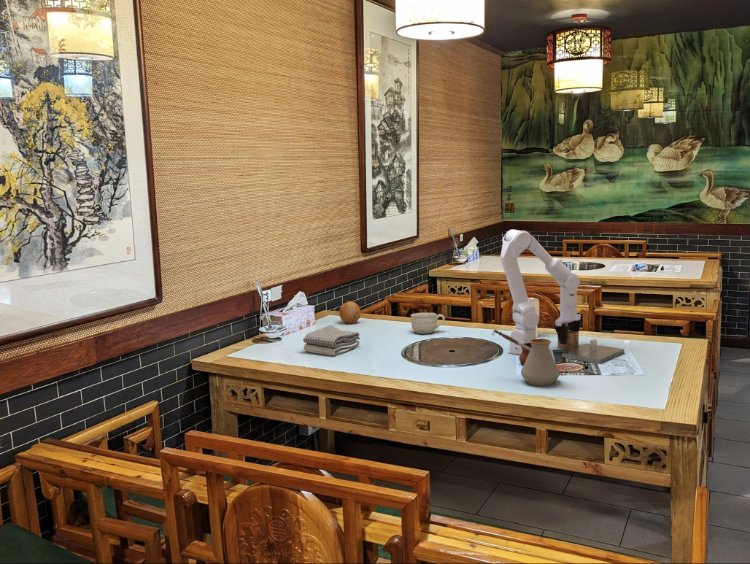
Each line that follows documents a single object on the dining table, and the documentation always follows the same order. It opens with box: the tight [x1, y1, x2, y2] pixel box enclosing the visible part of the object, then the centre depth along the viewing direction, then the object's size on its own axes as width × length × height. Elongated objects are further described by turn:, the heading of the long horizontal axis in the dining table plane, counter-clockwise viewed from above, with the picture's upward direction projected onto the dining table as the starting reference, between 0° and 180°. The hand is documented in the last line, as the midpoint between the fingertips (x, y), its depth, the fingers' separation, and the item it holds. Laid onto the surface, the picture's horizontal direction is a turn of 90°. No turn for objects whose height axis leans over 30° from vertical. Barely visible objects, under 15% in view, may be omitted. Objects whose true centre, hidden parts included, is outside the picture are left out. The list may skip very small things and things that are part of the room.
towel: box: [303, 325, 361, 357], centre depth 255 cm, size 15×18×8 cm
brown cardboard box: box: [557, 330, 580, 351], centre depth 245 cm, size 5×5×6 cm
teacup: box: [410, 312, 446, 335], centre depth 278 cm, size 14×11×8 cm
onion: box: [338, 300, 362, 324], centre depth 303 cm, size 10×10×10 cm
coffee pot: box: [491, 329, 560, 387], centre depth 207 cm, size 21×12×15 cm, turn 56°
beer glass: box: [528, 297, 540, 339], centre depth 265 cm, size 7×7×15 cm
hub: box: [561, 338, 625, 365], centre depth 234 cm, size 18×14×6 cm
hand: (568, 342), depth 245 cm, fingers open, 7 cm apart
